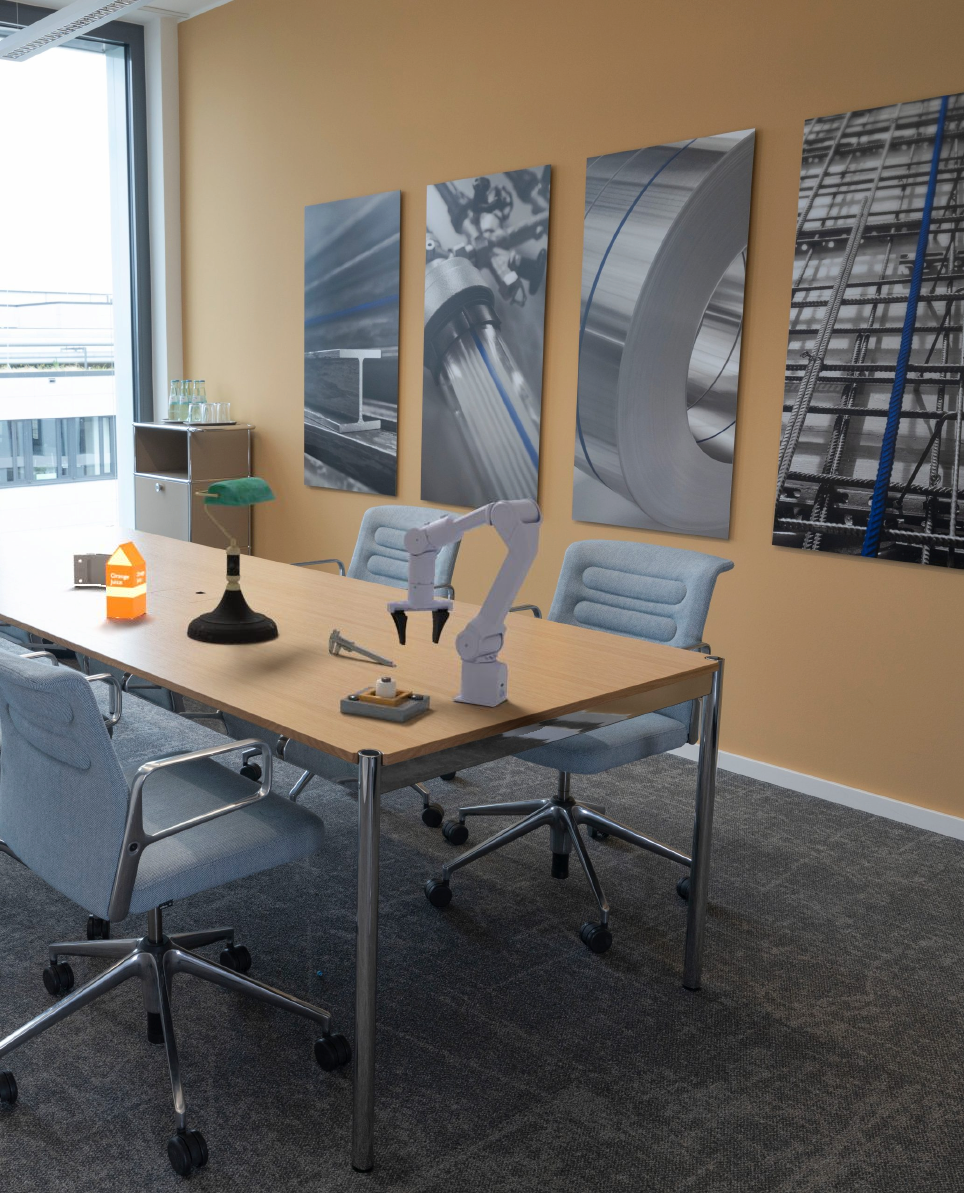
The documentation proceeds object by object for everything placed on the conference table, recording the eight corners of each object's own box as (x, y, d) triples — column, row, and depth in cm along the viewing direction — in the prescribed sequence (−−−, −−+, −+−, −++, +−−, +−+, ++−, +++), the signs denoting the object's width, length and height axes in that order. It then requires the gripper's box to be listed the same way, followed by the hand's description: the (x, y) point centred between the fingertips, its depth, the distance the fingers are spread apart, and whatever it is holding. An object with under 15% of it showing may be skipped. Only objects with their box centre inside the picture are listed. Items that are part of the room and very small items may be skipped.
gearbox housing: (429, 707, 223) (430, 691, 223) (402, 722, 212) (403, 705, 212) (369, 698, 229) (369, 681, 228) (340, 711, 218) (340, 695, 217)
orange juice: (146, 613, 303) (146, 541, 299) (133, 619, 294) (132, 545, 291) (119, 611, 304) (118, 540, 300) (105, 617, 295) (104, 544, 292)
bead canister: (398, 709, 222) (399, 677, 221) (389, 713, 218) (390, 681, 217) (381, 706, 223) (382, 674, 222) (371, 710, 220) (372, 678, 219)
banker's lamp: (254, 648, 268) (255, 485, 260) (167, 640, 272) (166, 479, 265) (293, 627, 293) (295, 478, 286) (213, 620, 298) (214, 473, 290)
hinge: (73, 587, 336) (72, 555, 335) (78, 584, 342) (77, 552, 340) (119, 588, 338) (118, 556, 336) (123, 585, 343) (123, 554, 341)
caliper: (328, 653, 267) (328, 628, 266) (331, 653, 268) (331, 628, 267) (393, 668, 256) (394, 642, 255) (396, 667, 257) (397, 641, 256)
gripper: (445, 578, 243) (443, 638, 245) (383, 579, 237) (381, 640, 240) (457, 584, 237) (454, 645, 239) (393, 585, 231) (391, 648, 233)
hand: (418, 643), depth 239 cm, fingers open, 7 cm apart
